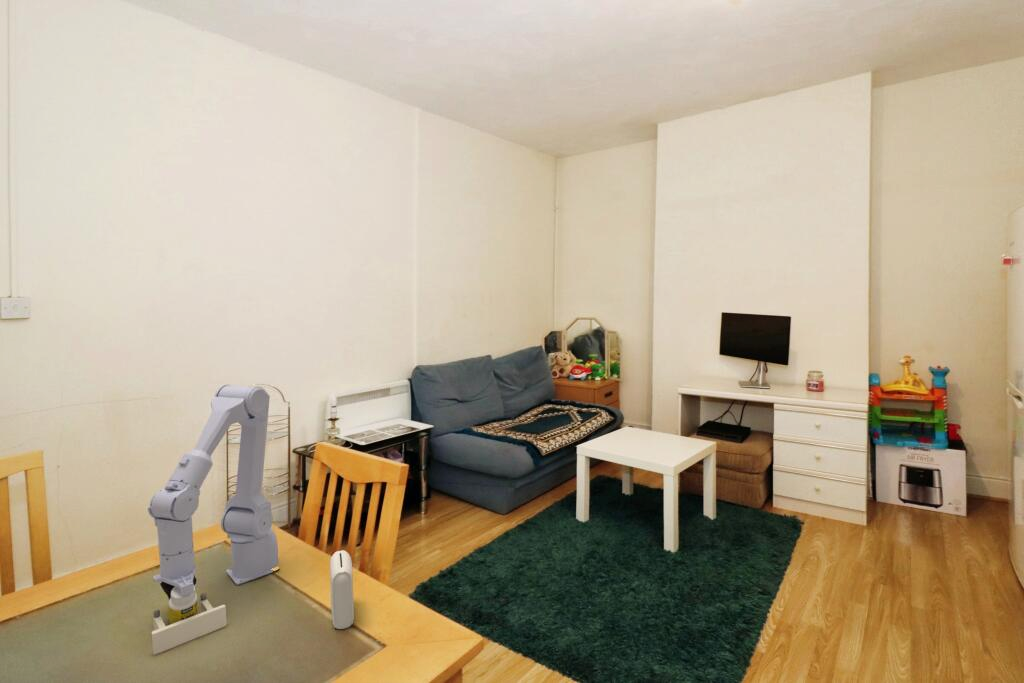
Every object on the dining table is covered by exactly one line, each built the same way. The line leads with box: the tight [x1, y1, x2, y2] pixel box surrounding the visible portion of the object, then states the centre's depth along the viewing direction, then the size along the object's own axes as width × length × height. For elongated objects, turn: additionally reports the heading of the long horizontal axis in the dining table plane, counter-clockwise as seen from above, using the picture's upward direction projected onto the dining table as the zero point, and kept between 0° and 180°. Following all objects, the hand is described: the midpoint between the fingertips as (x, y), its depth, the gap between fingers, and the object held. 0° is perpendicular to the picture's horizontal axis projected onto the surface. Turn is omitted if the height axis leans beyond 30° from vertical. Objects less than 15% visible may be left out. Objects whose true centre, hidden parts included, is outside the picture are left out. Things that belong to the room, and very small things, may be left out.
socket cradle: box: [151, 593, 227, 656], centre depth 102 cm, size 12×8×4 cm, turn 134°
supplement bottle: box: [167, 584, 198, 625], centre depth 102 cm, size 5×5×8 cm
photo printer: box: [329, 549, 355, 630], centre depth 107 cm, size 10×4×12 cm, turn 20°
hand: (180, 614), depth 105 cm, fingers closed, pressing on supplement bottle
